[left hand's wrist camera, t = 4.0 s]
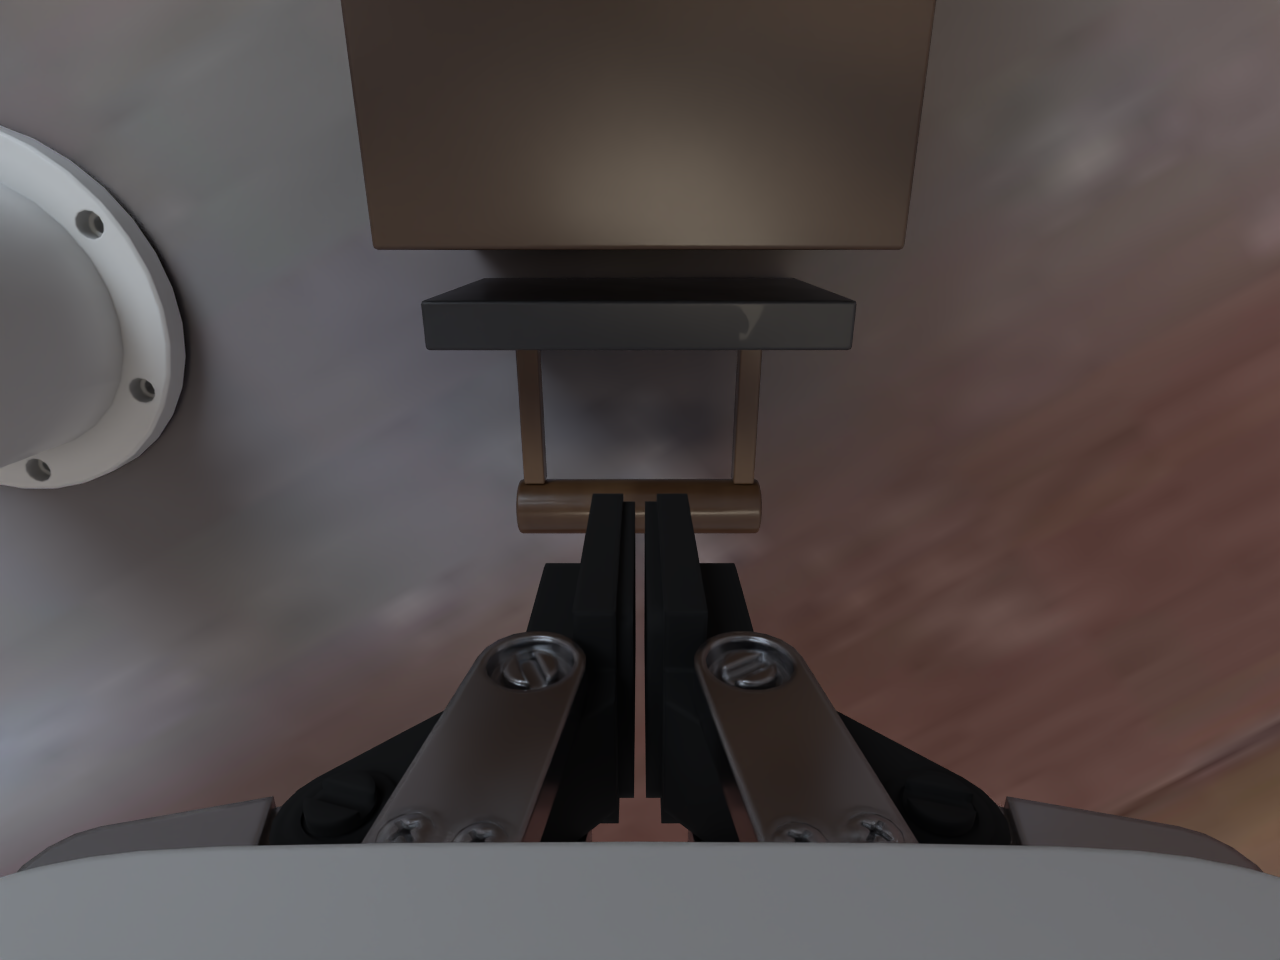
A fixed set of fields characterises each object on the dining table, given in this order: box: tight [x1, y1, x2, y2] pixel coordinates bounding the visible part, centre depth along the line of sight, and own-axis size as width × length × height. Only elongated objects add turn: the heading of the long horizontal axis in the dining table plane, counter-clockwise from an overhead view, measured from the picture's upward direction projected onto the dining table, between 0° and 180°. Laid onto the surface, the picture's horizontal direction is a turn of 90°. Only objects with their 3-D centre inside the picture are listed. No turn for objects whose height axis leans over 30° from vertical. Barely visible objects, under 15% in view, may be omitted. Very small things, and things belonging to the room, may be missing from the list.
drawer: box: [421, 278, 856, 533], centre depth 18 cm, size 22×11×7 cm, turn 0°
